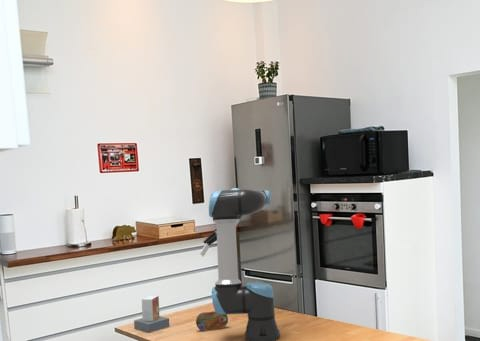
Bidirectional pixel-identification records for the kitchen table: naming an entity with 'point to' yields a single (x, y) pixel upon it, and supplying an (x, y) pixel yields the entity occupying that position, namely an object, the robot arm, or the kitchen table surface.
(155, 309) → the white upright block
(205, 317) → the tin
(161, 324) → the block
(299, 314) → the kitchen table surface
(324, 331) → the kitchen table surface
